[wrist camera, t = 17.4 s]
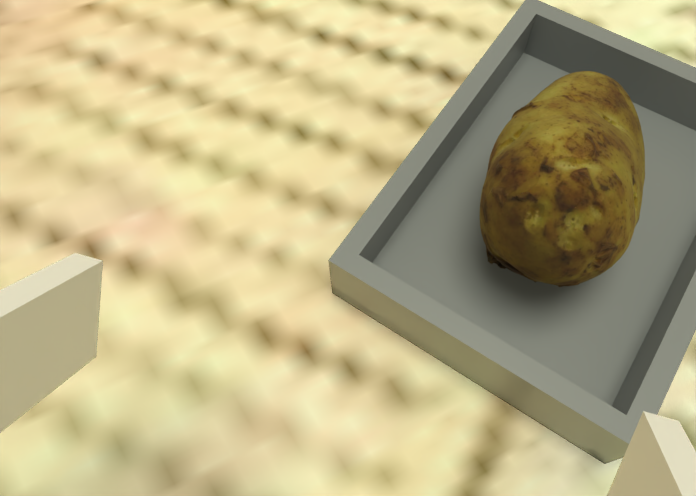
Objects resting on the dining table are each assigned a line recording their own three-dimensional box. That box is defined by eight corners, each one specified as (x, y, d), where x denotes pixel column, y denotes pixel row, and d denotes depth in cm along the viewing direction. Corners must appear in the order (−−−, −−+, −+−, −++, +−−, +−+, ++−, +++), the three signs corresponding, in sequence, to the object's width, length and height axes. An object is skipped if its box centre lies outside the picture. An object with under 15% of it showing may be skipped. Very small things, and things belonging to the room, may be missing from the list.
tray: (604, 463, 28) (640, 451, 24) (332, 292, 32) (328, 260, 28) (750, 155, 35) (795, 110, 31) (513, 47, 39) (528, -4, 35)
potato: (688, 184, 33) (778, 83, 26) (538, 349, 29) (595, 283, 22) (562, 98, 36) (612, -15, 29) (410, 238, 32) (423, 148, 25)
